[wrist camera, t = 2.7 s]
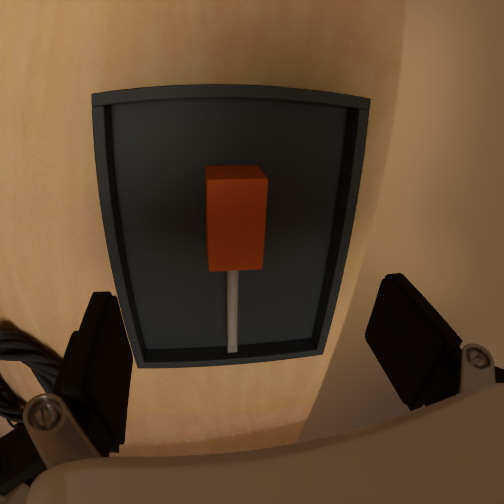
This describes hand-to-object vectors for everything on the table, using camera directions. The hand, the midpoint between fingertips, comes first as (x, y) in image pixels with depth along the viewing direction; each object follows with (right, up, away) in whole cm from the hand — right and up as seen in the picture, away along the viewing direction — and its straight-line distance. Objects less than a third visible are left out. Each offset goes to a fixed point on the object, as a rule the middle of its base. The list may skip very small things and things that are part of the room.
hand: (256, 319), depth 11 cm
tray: (-2, +3, +10) cm, 11 cm away
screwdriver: (-2, +1, +10) cm, 10 cm away
